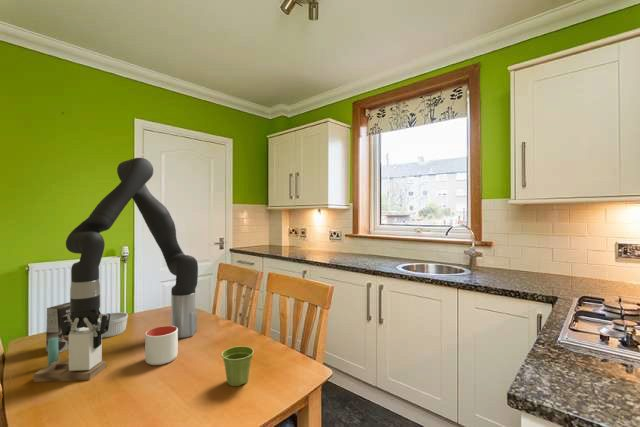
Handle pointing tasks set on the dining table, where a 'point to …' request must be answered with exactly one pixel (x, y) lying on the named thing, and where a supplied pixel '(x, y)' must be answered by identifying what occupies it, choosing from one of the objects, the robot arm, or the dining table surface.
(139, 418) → the dining table surface
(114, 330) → the ramekin
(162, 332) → the cup
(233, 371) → the plant pot
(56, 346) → the pin
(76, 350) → the block
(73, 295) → the robot arm
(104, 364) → the board
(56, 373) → the board
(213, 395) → the dining table surface
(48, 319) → the coffee box
